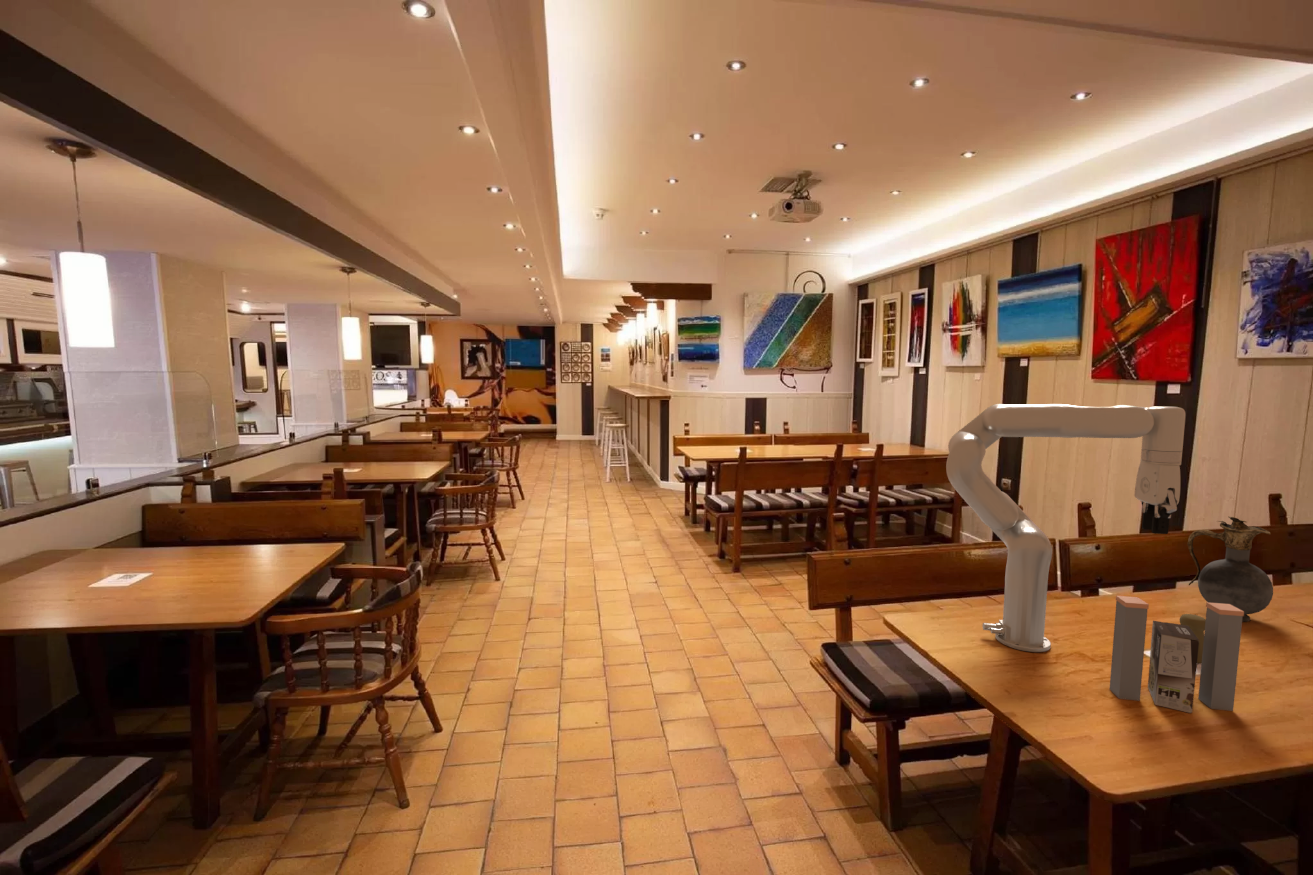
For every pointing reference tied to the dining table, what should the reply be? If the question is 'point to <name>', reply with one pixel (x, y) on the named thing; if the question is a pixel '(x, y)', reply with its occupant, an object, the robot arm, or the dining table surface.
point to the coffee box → (1173, 665)
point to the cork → (1195, 629)
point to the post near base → (1128, 647)
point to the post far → (1220, 655)
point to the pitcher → (1234, 571)
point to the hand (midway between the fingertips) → (1154, 530)
